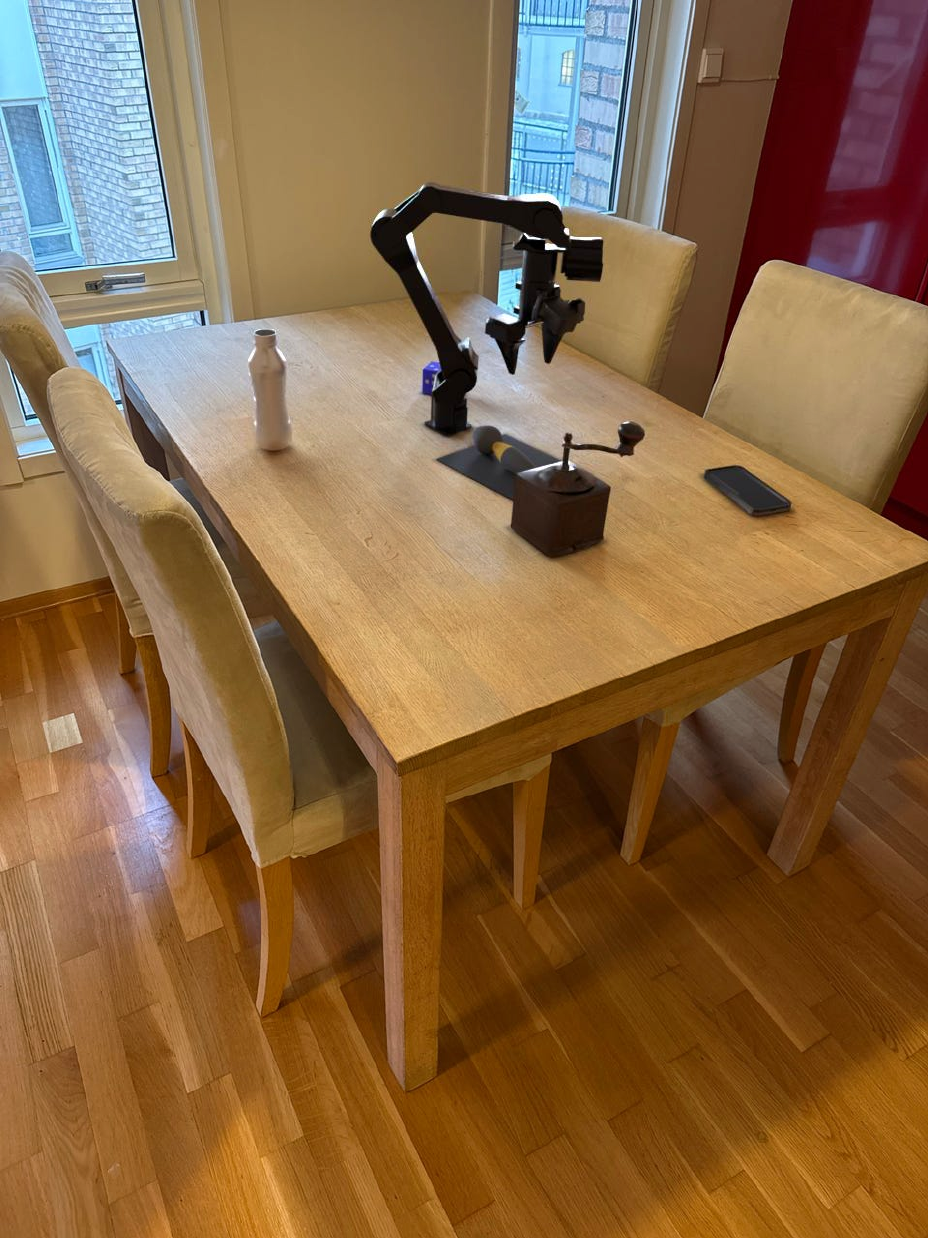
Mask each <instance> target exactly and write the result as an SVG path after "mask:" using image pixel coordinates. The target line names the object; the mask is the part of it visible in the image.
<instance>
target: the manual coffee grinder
mask: <svg viewBox="0 0 928 1238" xmlns="http://www.w3.org/2000/svg"><path fill="white" fill-rule="evenodd" d="M616 433H617V435H618V438H619V442H618V444H617V445H616V446H615V447H610V446H606V445H602V444H596V443H595V444H594V443H572V440H573V437H574V436H573V433H571V432H565V433H564V434H563V441H562V444H561V447H563V452H562V460H561V461H562V462H558V463H554V464H551V465H547V466H543V467H539V468H535V469H531V470H527V471H524V472H520V473H516V476H515V488H514V497H513V501H512V510H511V518H510V519H511V521H510V529H511V530H513V531H514V532H515V533H516V534H517V535H518V536H519V537H521V538H522V539H523V540H525V541H526V542H527V543H528V544H530V545H531V546H533V547H534V548H535V549H537V550H538V551H539V552H540V553H541V554H543V555H544V556H546V557H548V558H550V559H554V558H556V557H561V556H563V555H567V554H572V553H574V552H578V551H581V550H584V549H586V548H588V547H591V546H593V545H596V544H598V543H599V542H602V541H603V540H604V539H605V538H604V537H605V536H604V532H605V526H606V520H607V514H608V507H609V501H610V495H611V491H612V488H611V485H609V484H608V483H607V482H606V481H604V480H602V479H601V478H599V477H597V476H595V475H594V474H593V473H591V472H589V471H587V470H586V469H584V468H583V467H581V466H580V465H578V464H576V463H574V462H572V461H570V460H569V459H570V453H571V450H574V451H600V452H604V453H606V454H607V453H608V454H614V455H618V456H620V457H621V458H623V457H626V456H628V457H632V456H634V455H635V452H634V451H635V447H636V446H637V445H638V444H639V443H641V442H642V441H643V440H644V438H645V436H646V432H645V429H644V428H643V427H642V426H641V424H639V423H638V422H634V421H631V420H630V421H625V422H622V423H620V425H619V426H618V427H617V432H616Z"/></svg>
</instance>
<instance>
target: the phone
mask: <svg viewBox="0 0 928 1238" xmlns="http://www.w3.org/2000/svg"><path fill="white" fill-rule="evenodd" d="M703 479H704V480H705V481H706V482H708V483H709V484H711V485H712V486H713V487H715V489H717V490H718V491H720V492H721V493H722V494H724V495H725V496H726V497H727V498H729V499H730V500H731V501H733V502H734V503H735V504H736V505H738V506H739V507H740V508H742V509H743V510H744V511H746V512H747V513H748V514H749V515H752V516H754V517H761V516H768V515H773V514H779V513H784V512H790V510H791V507H792V503H793V502H792V501H791V500H789V498H787V497H786V496H784V495H783V494H781V493H780V492H778V491H777V490H776V489H775V488H773V487H772V486H770V485H769V484H768V483H766V482H765V481H764V480H762V479H761V478H759V477H758V476H757V475H755V474H754V473H753V472H751V471H750V470H749V469H747V468H745V467H744V466H742V465H740V464H739V465H738V464H732V465H727V466H719V467H713V468H707V469H705V470H704V472H703Z"/></svg>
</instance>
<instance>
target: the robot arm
mask: <svg viewBox="0 0 928 1238" xmlns="http://www.w3.org/2000/svg"><path fill="white" fill-rule="evenodd" d="M433 214H441V215H446V216H453V217H459V218H464V219H472V220H478V221H485V222H490V223H494V224H502V225H505V226H508V227H510V228H513V229H514V230H516V231H518V232H520V235H519V236H518V237H516V239H515V240H513V242H512V249H513V250H514V251H521V252H522V251H523V255H522V267H521V269H522V270H521V278H520V281H516V282H515V287H514V289H516V290H518V291H519V300H518V305H515V306H513V314H515V315H517V316H518V317H514V316H512V315H508V314H506V313H501V314H497V315H493V316H489V317H488V318H487V319H486V320H485V326H484V334H485V335H488V336H489V337H490V338H491V339H494V341H495V343H496V345H497V347H498V349H499V351H500V353H501V356H502V359H503V361H504V364H505V367H506V369H507V371H508V374H509V375H512V376H515V374H516V371H517V366H518V359H519V351H520V347H521V346H522V345H523V344H524V343H525V342H526V339H524V336H525V335H526V331H527V330H526V329H528V328H531V327H536V326H540V325H541V338H542V341H541V342H542V355H543V362H544V364H548V365H549V364H551V363H552V361H553V359H554V356H555V354H556V352H557V349H558V347H559V346H560V343H561V341H562V339H563V337H564V336H565V334H567V333H573V332H574V331H575V330H576V327H577V325H579V324H581V323H582V322H583V321H584V320H585V318H584V316H585V314H586V302H585V301H584V300H583V299H582V298H580V297H578V298H574V299H572V300H569V299H563V298H561V293H562V289H561V286H560V285H558V284H556V277H557V268H558V258H559V254H561V255H560V263H559V274H564V275H563V276H564V277H565V281H572V282H573V281H576V282H591V283H592V282H593V283H600V282H601V280H602V275H603V270H604V262H603V258H604V239H603V238H602V237H599V236H598V237H597V236H596V237H595V236H593V237H579V236H578V237H577V236H576V237H575V236H571V235H570V231H569V228H566V225H565V223H564V222H563V221H564V215H563V211H562V209H561V204H560V202H559V201H558V200H557V198H556V196H554V195H552V194H550V193H524V194H517V195H502V194H496V193H491V192H485V191H479V190H473V189H467V188H461V187H455V186H450V185H449V186H448V185H443V184H439V183H436V182H434V181H428V182H426V183H424V184H423V185H422V186H421V187H420V189H418V190H417V191H416V192H414V193H413V194H412V195H410V196H409V197H408V198H406V199H405V200H403V201H402V202H401V203H400V204H399V205H397V206H396V207H395V208H386V209H383V210H382V211H381V212H379V213H378V215H377V216H376V218H375V219H374V221H373V224H372V225H371V228H370V234H369V236H370V237H369V238H370V241H371V244H372V246H373V247H374V248H375V250H376V251H377V252H378V254H379V255H380V257H381V259H383V261H385V262H384V263H386V264H387V265H388V266H389V267H390V268H391V269H392V270H393V271H394V272H395V273H396V274H397V276H398V278H399V280H400V281H401V283H402V285H403V287H404V289H405V292H406V294H407V295H408V297H409V299H410V301H411V303H412V305H413V307H414V309H415V310H416V313H417V314H418V316H419V319H420V320H421V323H422V324H423V325H424V326H423V327H424V328H425V330H426V332H427V334H428V336H429V339H430V340H431V342H432V345H433V346H434V347H435V351H436V355H437V360H438V362H439V364H440V368H441V370H440V371H439V372H438V373H437V374H436V375H435V379H434V385H433V391H432V395H431V398H430V399H431V400H430V403H431V404H430V419H429V420H426V421H424V426H426V427H427V428H430V429H432V430H434V432H435V431H436V432H437V433H439V434H442V435H443V436H445V437H449V436H453V435H454V434H458V433H460V432H463V431H466V430H469V429H472V427H473V425H472V423H469V422H468V409H469V408H468V397H466V395H467V393H469V392H471V391H472V390H474V388H475V387H476V384H477V382H478V370H479V358H480V355H479V354H477V352H475V349H474V348H473V344H472V342H471V339H470V337H467V338H465V339H464V340H462V339H461V338H460V337H459V336H458V335H457V334H456V332H455V331H454V328H453V327H452V325H451V322H450V321H449V318H448V317H447V314H446V313H445V310H444V309H443V306H442V304H441V302H440V301H439V299H438V297H437V295H436V292H435V290H434V288H433V286H432V285H431V282H430V281H429V279H428V277H427V275H426V273H425V270H424V269H423V267H422V265H421V263H420V260H419V258H418V252H417V248H416V244H415V240H414V237H413V232H414V231H415V230H416V229H417V228H418V227H419V226H420V225H421V224H423V223H424V222H425V221H426V220H427V219H428V218H429V217H430V216H431V215H433ZM529 236H531V237H529ZM546 240H548V241H549V242H551V243H547V241H546Z"/></svg>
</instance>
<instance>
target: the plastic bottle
mask: <svg viewBox="0 0 928 1238" xmlns="http://www.w3.org/2000/svg"><path fill="white" fill-rule="evenodd" d="M277 335H278V334H277V331H276V330H275V329H273V328H259V329H256V330H254V331H253V346H255V348H254V349H253V351H252V352H251V354H250V356H249V358H248V360H247V371H248V375H249V380H250V383H251V387H252V388H251V389H252V393H253V401H254V425H253V436H254V439H255V443H256V444H257V445H258V447H259V448H261V449H263V450H266V451H279V450H283V449H284V450H285V448H288V447H289V446H290V444H291V442H292V439H293V428H292V423H291V421H290V416H289V409H288V404H287V377H288V376H287V373H288V362H287V360H286V358H285V355H284V354H283V353H282V351H281V350H280V349H279V348H278V347H277V345H278V343H279V341H278V338H277Z"/></svg>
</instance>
